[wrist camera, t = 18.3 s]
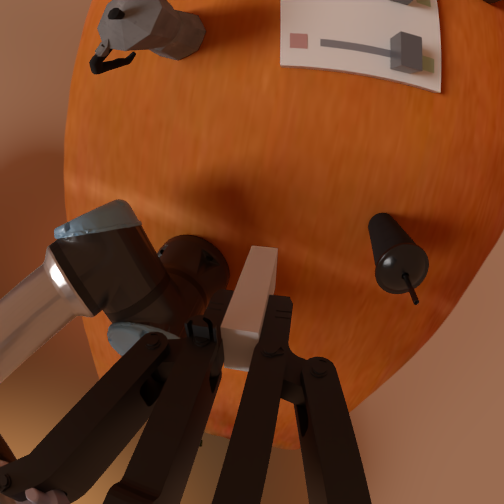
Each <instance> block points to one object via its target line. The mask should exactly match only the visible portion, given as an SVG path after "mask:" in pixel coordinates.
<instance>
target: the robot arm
mask: <svg viewBox="0 0 504 504" xmlns="http://www.w3.org/2000/svg"><path fill="white" fill-rule="evenodd" d="M141 224H142V223H141V221H139V220H138V218H137V217H136V215H135V213H134V212H133V210H132V208H131V207H130V205H129V204H128V203H127V202H126V201H124V200H120V199H118V200H114V201H112V202H109V203H107V204H105V205H103V206H100V207H98V208H96V209H94V210H92V211H90V212H88V213H85V214H83V215H81V216H79V217H77V218H75V219H73V220H71V221H69V222H67V223H65V224H63V225H61V226H59V227H57V228H56V229H55V230H54V234H55V235H54V236H55V238H56V239H57V240H56V241H55V242H54V243H52V244H51V245H49V246H48V247H47V251H46V256H45V261H44V263H43V264H42V265H41V266H40V267H39V268H37V269H36V270H35V271H34V272H32V273H31V274H30V275H29V276H27V277H26V278H25V279H24V280H23V281H21V282H20V283H19V284H18V285H17V286H16V287H14V288H13V289H12V290H11V291H10V292H9V293H8V294H6V295H5V296H4V297H3V298H2V299H1V300H0V383H1V382H2V381H3V380H5V379H6V378H7V377H8V376H9V375H10V374H11V373H12V372H13V371H14V370H15V369H16V368H17V367H19V366H20V365H21V364H22V363H23V362H24V361H25V360H26V359H27V358H28V357H29V356H31V355H32V354H33V353H34V352H35V351H36V350H37V349H39V348H40V347H41V346H42V345H43V344H44V343H46V342H47V341H48V340H49V339H50V338H51V337H53V336H54V335H55V334H56V333H57V332H58V331H60V330H61V329H62V328H63V327H64V326H66V325H67V324H68V323H69V322H70V321H72V320H73V319H74V318H75V317H76V316H86V317H94V316H95V315H97V314H98V313H99V312H100V311H102V310H103V311H104V313H105V314H106V315H107V317H108V318H109V319H110V321H111V322H112V324H111V325H110V326H109V328H108V333H107V336H108V341H109V343H110V344H111V346H112V347H113V348H114V349H115V350H116V351H117V352H118V353H119V354H120V355H121V356H122V357H121V358H120V359H119V360H118V361H117V362H116V363H115V364H114V365H113V366H112V367H111V369H110V370H109V371H108V372H107V373H106V374H105V375H104V376H103V377H102V378H101V379H100V380H99V381H98V382H97V383H96V384H95V385H94V386H93V387H92V388H91V389H90V390H89V391H88V392H87V393H86V394H85V395H84V396H83V397H82V399H81V400H80V401H79V402H78V403H77V404H76V405H75V406H74V407H73V408H72V409H71V410H70V411H69V412H68V413H67V414H66V415H65V417H63V419H62V420H61V421H60V422H59V423H58V424H57V425H56V426H55V427H54V428H53V429H52V430H51V431H50V432H49V434H48V435H47V436H46V437H45V438H44V439H43V440H42V441H41V442H40V443H39V444H38V445H37V446H36V448H35V449H34V450H33V451H32V452H31V453H30V454H29V455H27V456H24V457H22V458H20V459H18V460H17V459H16V457H15V456H14V454H13V453H12V451H11V449H10V448H9V446H8V445H7V443H6V442H5V440H4V439H3V437H2V436H1V434H0V504H70V503H72V502H74V501H76V500H78V499H79V498H80V497H82V496H83V495H84V494H85V493H86V492H87V491H88V490H89V489H90V488H91V487H92V486H93V485H94V484H95V482H96V481H97V480H98V479H99V478H100V477H101V475H102V474H103V473H104V472H105V471H106V469H107V468H108V467H109V466H110V465H111V463H112V462H113V461H114V460H115V459H116V457H117V456H118V455H119V454H120V452H121V451H122V450H123V449H124V448H125V447H126V445H127V444H128V443H129V442H130V440H131V439H132V438H133V437H134V436H135V434H136V433H137V432H138V431H139V429H140V428H141V427H142V426H143V425H144V423H145V422H146V421H147V420H148V422H147V424H146V426H145V428H144V430H143V433H142V435H141V437H140V439H139V442H138V444H137V446H136V448H135V451H134V453H133V455H132V457H131V460H130V462H129V464H128V467H127V469H126V472H125V474H124V476H123V478H122V480H121V481H120V482H118V483H116V484H114V485H113V486H112V487H111V488H110V489H109V491H108V493H107V495H106V498H105V500H104V502H103V504H180V501H181V498H182V496H183V493H184V489H185V487H186V484H187V481H188V478H189V475H190V472H191V469H192V465H193V463H194V460H195V457H196V454H197V451H198V448H199V445H200V442H201V439H202V436H203V433H204V430H205V427H206V423H207V420H208V417H209V414H210V411H211V408H212V405H213V402H214V399H215V396H216V393H217V390H218V387H219V384H220V380H221V377H222V371H221V369H222V366H223V363H224V367H225V368H230V369H236V370H242V371H248V375H247V379H246V382H245V386H244V390H243V394H242V398H241V402H240V405H239V409H238V413H237V417H236V420H235V424H234V428H233V431H232V435H231V439H230V442H229V446H228V449H227V453H226V456H225V460H224V464H223V468H222V471H221V474H220V477H219V481H218V485H217V488H216V491H215V495H214V498H213V501H212V504H260V502H261V497H262V493H263V488H264V483H265V479H266V474H267V468H268V464H269V459H270V453H271V448H272V443H273V438H274V432H275V427H276V421H277V415H278V409H279V403H280V398H282V399H284V400H287V401H289V402H291V403H294V408H295V415H296V421H297V427H298V433H299V439H300V446H301V452H302V459H303V465H304V472H305V478H306V485H307V492H308V498H309V504H371V499H370V495H369V490H368V486H367V481H366V477H365V473H364V469H363V465H362V461H361V457H360V453H359V449H358V445H357V442H356V438H355V434H354V431H353V427H352V423H351V419H350V416H349V412H348V409H347V405H346V402H345V398H344V395H343V391H342V388H341V385H340V381H339V378H338V375H337V371H336V368H335V366H334V364H333V363H332V362H331V361H330V360H328V359H326V358H323V357H313V358H310V359H308V360H305V359H303V358H300V357H298V356H296V355H295V354H294V353H293V352H292V351H291V350H290V348H289V345H288V340H289V332H290V324H291V316H292V307H293V303H292V301H291V299H290V297H286V296H278V295H274V290H275V283H276V269H277V255H278V248H272V247H262V246H251V249H250V252H249V254H248V257H247V259H246V262H245V265H244V267H243V270H242V272H241V275H240V278H239V280H238V283H237V285H236V288H235V291H232V290H225V289H226V286H227V284H228V281H229V268H228V265H227V262H226V260H225V258H224V257H223V255H222V254H221V253H220V251H219V250H218V249H217V248H216V247H215V246H213V245H212V244H211V243H209V242H208V241H206V240H204V239H202V238H199V237H196V236H191V235H180V236H176V237H173V238H171V239H169V240H168V241H167V242H166V243H165V244H164V245H163V246H162V247H161V248H160V250H159V251H158V253H156V251H155V249H154V248H153V246H152V244H151V242H150V240H149V239H148V237H147V235H146V233H145V231H144V229H143V227H142V225H141ZM148 418H149V419H148Z"/></svg>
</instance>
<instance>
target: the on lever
mask: <svg viewBox="0 0 504 504" xmlns="http://www.w3.org/2000/svg"><path fill="white" fill-rule="evenodd" d="M390 69H392V70H396V71H401V72H404V73H408V74H411V73H415V72H420V71H422V37H419V36H416V35H413V34H409V33H406V32H402V31H400V32H399V33H397V34H396V35H395V36H393V37H392V38H390Z"/></svg>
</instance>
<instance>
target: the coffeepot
mask: <svg viewBox="0 0 504 504" xmlns="http://www.w3.org/2000/svg"><path fill="white" fill-rule="evenodd" d="M97 29H98V32H99V35H100V37H101V40H102V42H101V43H100V45H99V46H98V48H97V49H96V50H95V52H96V54H95V55H94V56H93V57H92V59H91V60H90V62H89V63H90V67H91V71H92V73H94V74H101V73H103V72H106V71H109V70H112V69H115V68H118V67H121V66H124V65H128V64H130V63H131V62H132V60H133V59H134V57H135V55H136V53H135V52H132V53H131V54H130V55H129V56H128V57H126V58H118V59H115V60H113V61H107V62H103V61H104V60H105V58H106V57H107V56H108V55H109V53H110V52H111V51H112V49H116V50H123V51H129V50H147V49H149V50H151V51H152V52H154V53H156V54H158V55H159V56H162V57H166V58H170V59H174V60H180V59H182V58H184V57H186V56H189V55H190V54H192V53H193V52H195V51H197V50H198V48H199V46H200V45H201V43H202V41H203V38H204V35H205V33H206V30H205V28H204V26H203V23H202V22H201V20H200V18H199V16H198V15H194V14H190V13H186V12H182V11H177V10H174V9H173V7H172V6H171V5H170V4H169V3H168V2H167V1H166V0H112V1H111V2H110V3H108V4H107V6H106V9H105V11H104V13H103V16H102V18H101V20H100V23H99V25H98V28H97Z"/></svg>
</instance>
